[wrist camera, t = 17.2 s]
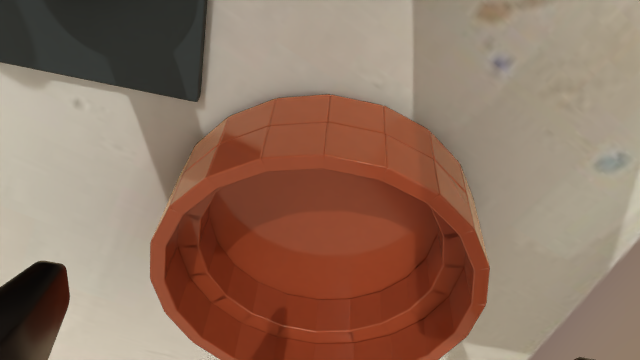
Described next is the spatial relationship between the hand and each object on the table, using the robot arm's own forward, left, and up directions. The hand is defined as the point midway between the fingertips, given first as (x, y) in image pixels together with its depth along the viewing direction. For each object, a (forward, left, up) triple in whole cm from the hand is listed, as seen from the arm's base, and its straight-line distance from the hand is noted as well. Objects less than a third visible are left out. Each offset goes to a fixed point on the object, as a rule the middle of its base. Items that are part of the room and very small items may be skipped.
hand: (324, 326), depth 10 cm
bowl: (-1, +9, -13) cm, 16 cm away
